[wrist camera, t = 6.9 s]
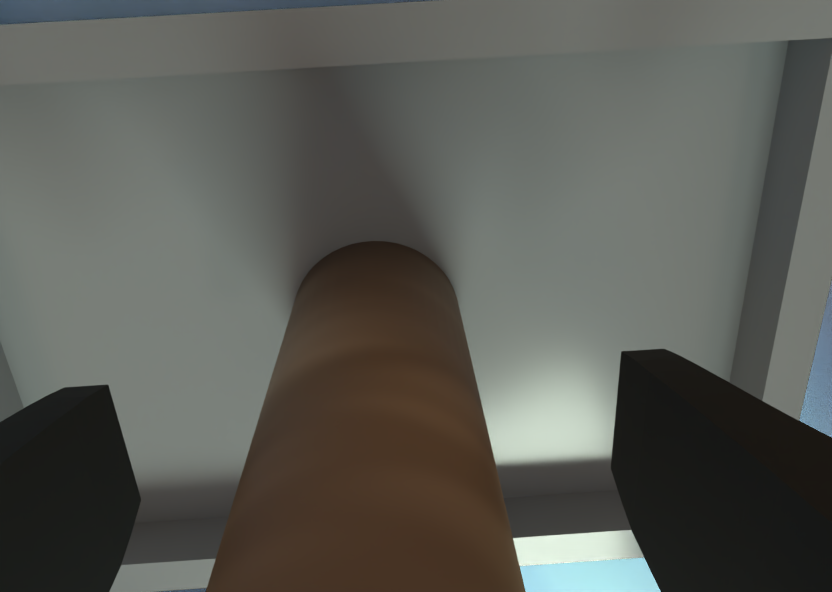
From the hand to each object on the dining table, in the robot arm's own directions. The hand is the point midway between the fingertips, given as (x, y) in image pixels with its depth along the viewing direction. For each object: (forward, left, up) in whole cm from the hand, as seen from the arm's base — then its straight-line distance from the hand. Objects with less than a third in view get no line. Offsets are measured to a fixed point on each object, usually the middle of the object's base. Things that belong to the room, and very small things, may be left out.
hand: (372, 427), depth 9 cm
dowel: (0, 0, -4) cm, 4 cm away
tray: (0, 0, -4) cm, 4 cm away
